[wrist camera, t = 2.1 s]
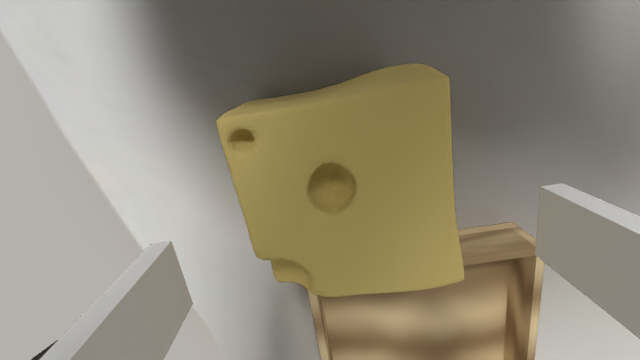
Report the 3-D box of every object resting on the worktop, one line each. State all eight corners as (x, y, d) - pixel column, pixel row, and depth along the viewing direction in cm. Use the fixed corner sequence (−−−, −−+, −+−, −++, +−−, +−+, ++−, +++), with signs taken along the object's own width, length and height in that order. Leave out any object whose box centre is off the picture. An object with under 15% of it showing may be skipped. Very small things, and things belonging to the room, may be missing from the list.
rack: (306, 251, 26) (305, 289, 21) (512, 222, 25) (556, 254, 21) (339, 422, 33) (343, 479, 28) (501, 402, 32) (532, 456, 28)
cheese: (282, 227, 25) (264, 320, 16) (249, 91, 22) (199, 106, 12) (410, 205, 25) (470, 288, 15) (398, 63, 21) (466, 56, 12)
